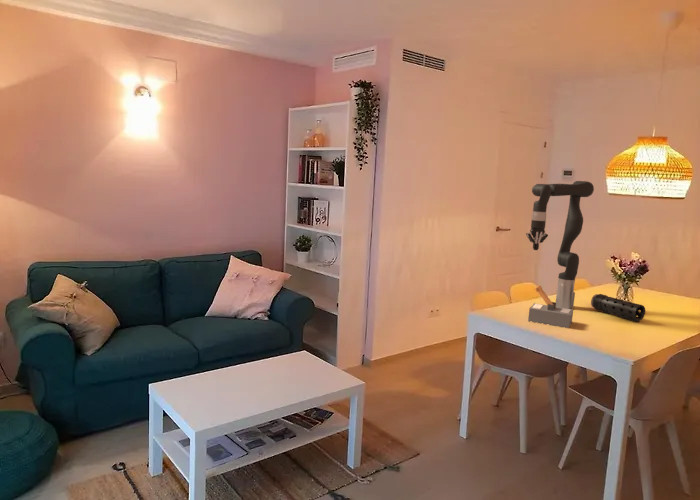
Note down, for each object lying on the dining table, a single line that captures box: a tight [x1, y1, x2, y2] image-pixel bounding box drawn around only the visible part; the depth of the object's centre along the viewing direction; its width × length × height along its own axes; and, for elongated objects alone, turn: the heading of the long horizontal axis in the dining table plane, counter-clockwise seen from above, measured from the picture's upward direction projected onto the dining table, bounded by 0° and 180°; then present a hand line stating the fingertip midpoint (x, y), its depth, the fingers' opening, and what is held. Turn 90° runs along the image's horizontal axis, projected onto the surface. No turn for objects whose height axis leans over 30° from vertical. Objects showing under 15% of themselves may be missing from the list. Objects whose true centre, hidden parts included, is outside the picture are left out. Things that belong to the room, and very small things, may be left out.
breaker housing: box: [527, 301, 574, 329], centre depth 275 cm, size 20×14×10 cm
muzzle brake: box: [590, 293, 646, 323], centre depth 295 cm, size 10×28×10 cm, turn 28°
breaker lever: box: [534, 284, 554, 305], centre depth 276 cm, size 2×5×13 cm
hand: (535, 250), depth 294 cm, fingers closed
